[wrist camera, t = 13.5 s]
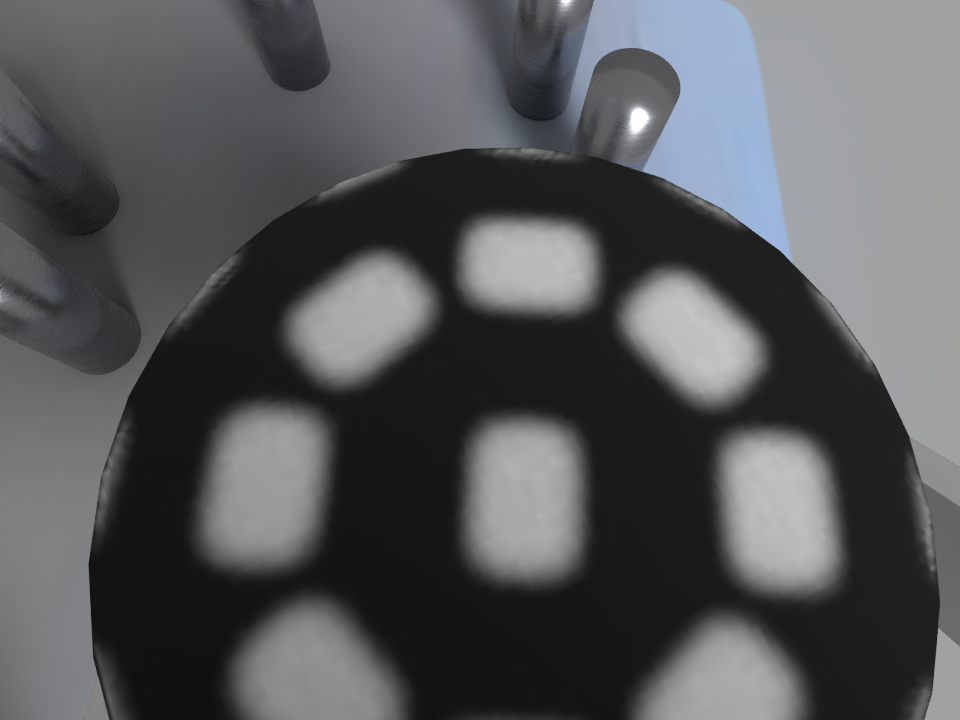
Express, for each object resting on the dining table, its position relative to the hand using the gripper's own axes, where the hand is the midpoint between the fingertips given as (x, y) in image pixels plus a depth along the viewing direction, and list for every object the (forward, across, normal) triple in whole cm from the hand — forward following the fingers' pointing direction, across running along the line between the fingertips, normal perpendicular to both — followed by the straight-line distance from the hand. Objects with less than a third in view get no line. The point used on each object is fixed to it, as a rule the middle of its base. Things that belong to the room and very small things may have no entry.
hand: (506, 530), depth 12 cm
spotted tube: (+10, 0, -9) cm, 14 cm away
